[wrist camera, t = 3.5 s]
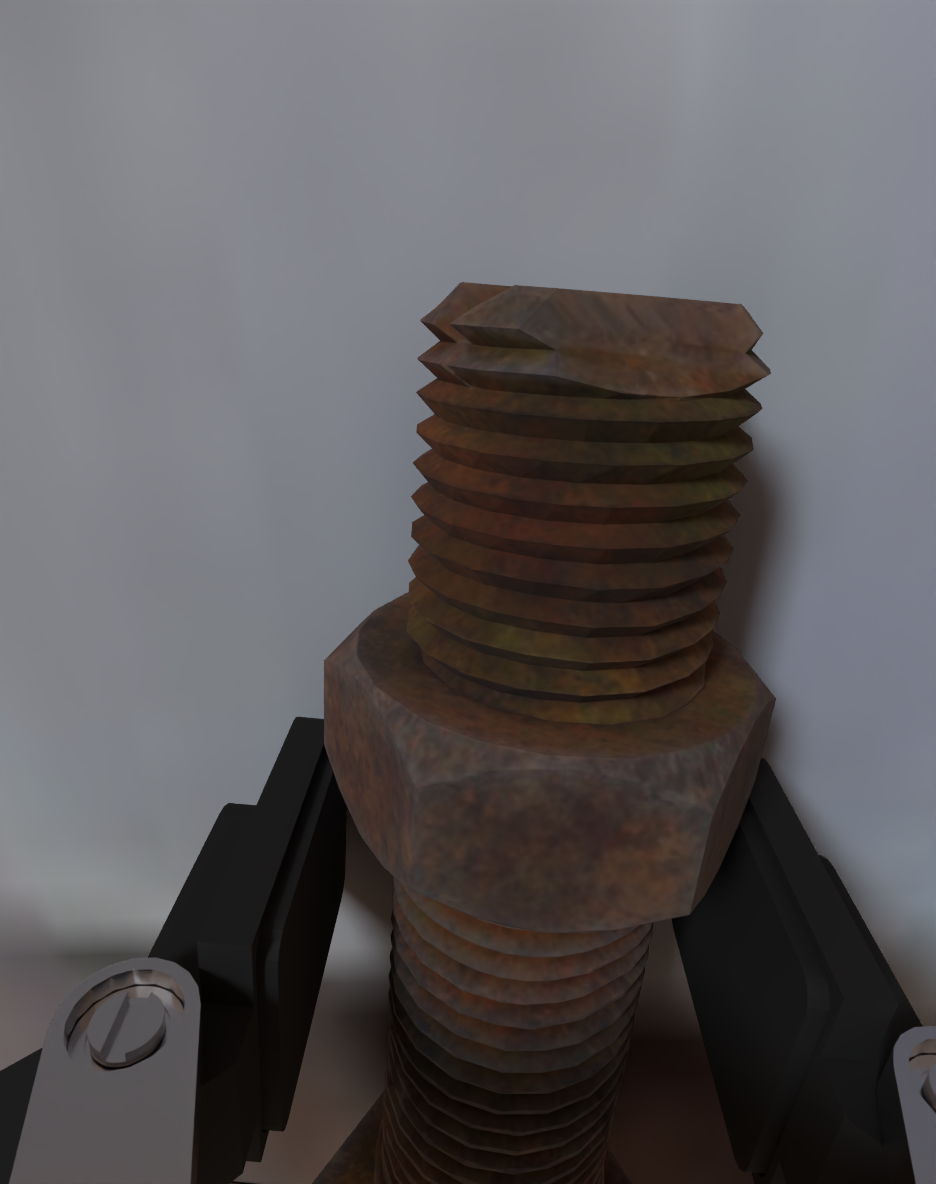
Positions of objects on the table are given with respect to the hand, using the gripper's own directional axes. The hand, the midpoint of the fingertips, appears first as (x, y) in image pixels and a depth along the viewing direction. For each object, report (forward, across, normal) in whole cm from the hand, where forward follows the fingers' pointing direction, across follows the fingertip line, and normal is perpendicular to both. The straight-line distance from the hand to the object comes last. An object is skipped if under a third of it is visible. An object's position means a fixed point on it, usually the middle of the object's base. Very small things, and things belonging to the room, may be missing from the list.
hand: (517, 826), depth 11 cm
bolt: (+1, 0, 0) cm, 1 cm away
